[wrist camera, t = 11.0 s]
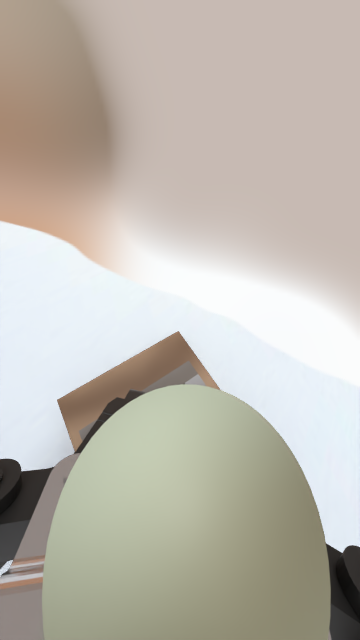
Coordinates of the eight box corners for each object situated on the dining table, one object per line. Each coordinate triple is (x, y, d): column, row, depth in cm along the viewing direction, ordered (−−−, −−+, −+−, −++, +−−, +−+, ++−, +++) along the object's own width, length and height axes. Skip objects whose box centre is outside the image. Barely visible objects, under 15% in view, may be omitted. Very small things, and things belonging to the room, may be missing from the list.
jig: (63, 401, 17) (31, 393, 13) (177, 335, 21) (180, 313, 17) (155, 656, 11) (149, 792, 7) (292, 498, 15) (340, 524, 11)
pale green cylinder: (128, 440, 14) (9, 479, 3) (180, 403, 15) (212, 348, 5) (160, 509, 12) (127, 1044, 2) (214, 461, 13) (388, 575, 3)
